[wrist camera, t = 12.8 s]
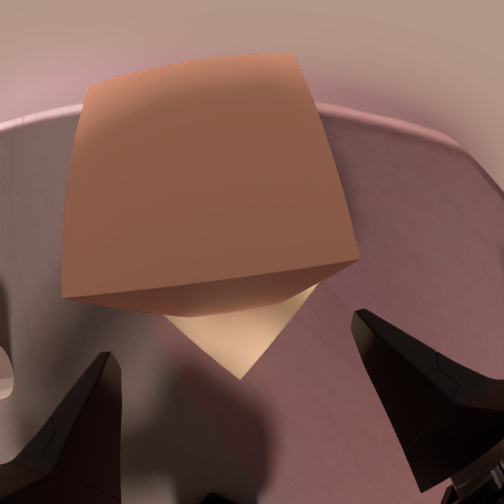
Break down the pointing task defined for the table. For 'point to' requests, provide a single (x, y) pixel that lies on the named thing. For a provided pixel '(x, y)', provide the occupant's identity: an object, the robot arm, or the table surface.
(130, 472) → the table surface
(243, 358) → the birch block
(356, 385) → the table surface
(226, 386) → the table surface
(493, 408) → the robot arm
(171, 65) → the terracotta post
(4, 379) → the white cup
